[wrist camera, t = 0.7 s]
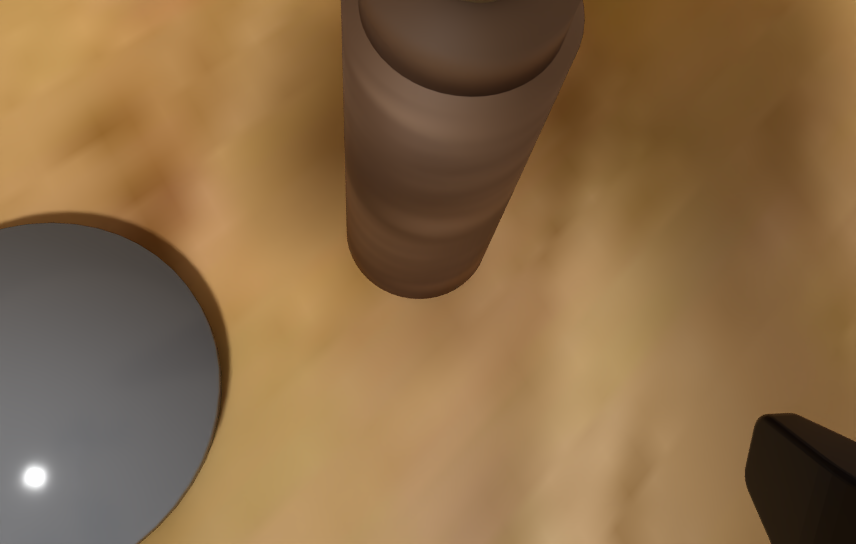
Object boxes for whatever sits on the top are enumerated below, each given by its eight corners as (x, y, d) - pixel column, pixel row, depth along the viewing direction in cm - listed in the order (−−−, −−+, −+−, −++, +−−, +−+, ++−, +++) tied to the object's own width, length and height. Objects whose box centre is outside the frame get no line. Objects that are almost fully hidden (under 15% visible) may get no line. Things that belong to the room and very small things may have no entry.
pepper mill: (513, 219, 25) (701, -154, 11) (433, 326, 23) (540, 44, 10) (402, 143, 25) (456, -301, 12) (317, 243, 24) (271, -130, 11)
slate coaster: (293, 360, 23) (292, 356, 22) (41, 675, 20) (32, 679, 19) (35, 169, 24) (27, 160, 23) (-241, 436, 21) (-258, 434, 20)
